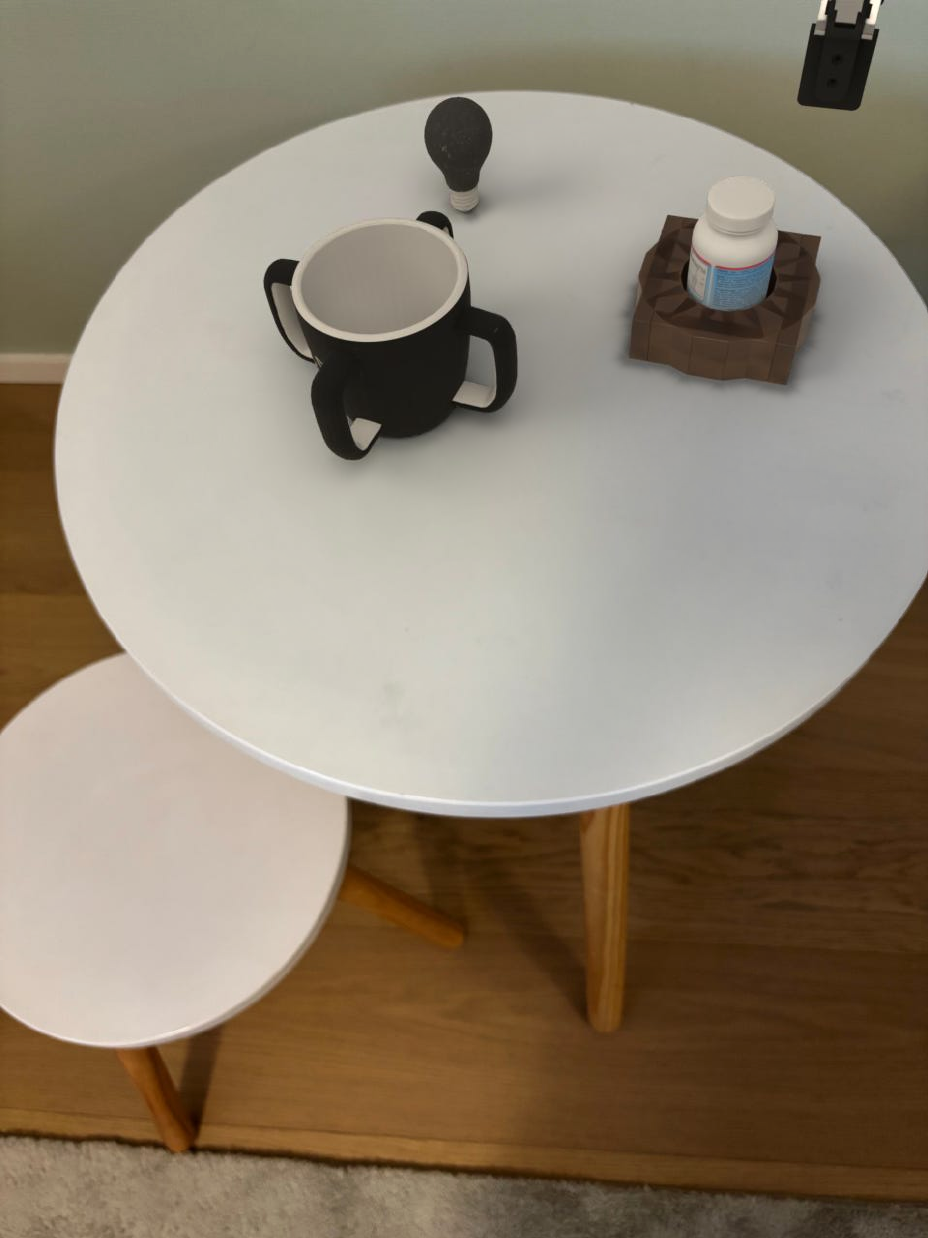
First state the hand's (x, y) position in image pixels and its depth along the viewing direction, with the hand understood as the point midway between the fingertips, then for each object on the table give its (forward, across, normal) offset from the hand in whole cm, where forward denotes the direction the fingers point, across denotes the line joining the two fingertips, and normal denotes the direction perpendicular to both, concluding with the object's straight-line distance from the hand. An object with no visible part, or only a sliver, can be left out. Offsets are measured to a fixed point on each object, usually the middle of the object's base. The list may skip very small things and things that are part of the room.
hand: (841, 51), depth 56 cm
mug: (+26, -8, +27) cm, 38 cm away
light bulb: (+25, +14, +29) cm, 41 cm away
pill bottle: (+26, +6, +5) cm, 27 cm away
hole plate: (+25, +6, +5) cm, 27 cm away
